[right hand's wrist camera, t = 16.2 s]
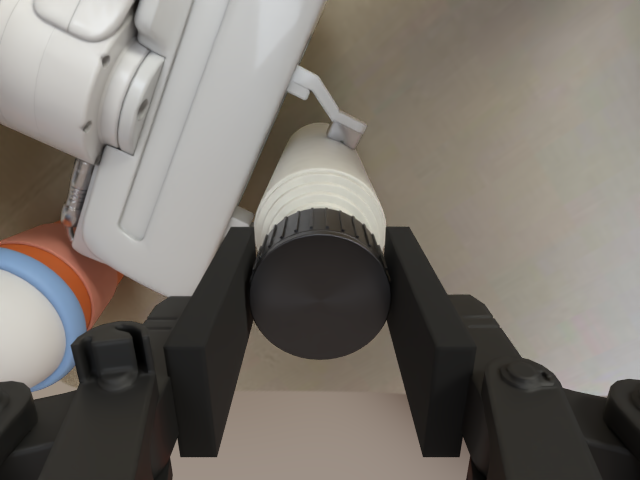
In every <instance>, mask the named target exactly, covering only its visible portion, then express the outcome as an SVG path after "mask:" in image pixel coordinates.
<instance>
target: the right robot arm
mask: <svg viewBox="0 0 640 480" xmlns="http://www.w3.org/2000/svg"><path fill="white" fill-rule="evenodd" d="M384 259H385V262H386V265H387V268H388V270H387V271H388V274H389V277H390V280H391V283H390V285H391V293H392V297H391V307H390V311H389V314H388V318H387V323H388V327H389V331H390V334H391V338H392V342H393V346H394V349H395V353H396V357H397V361H398V365H399V368H400V372H401V376H402V380H403V383H404V387H405V391H406V395H407V398H408V402H409V406H410V410H411V413H412V417H413V421H414V425H415V429H416V432H417V436H418V440H419V444H420V447H421V451H422V455H423V457H460V451H461V444H462V438H464V440H465V443H466V445H467V448H468V451H469V453H470V461H469V467H468V473H467V478H466V480H640V380H634V379H625V380H620V381H616V382H615V383H614V384H613V385H612V386H611V387H610V390H609V394H608V397H607V398H604V397H600V396H595V395H590V394H585V393H581V392H576V391H572V390H568V389H565V388H562V385H561V383H560V382H559V380H558V379H557V378H556V376H555V375H554V374H553V373H552V372H551V371H549V370H548V369H547V368H545V367H544V366H542V365H540V364H538V363H536V362H533V361H531V360H529V359H524V358H522V357H521V356H520V354H519V353H518V352H517V350H516V349H515V347H514V346H513V344H512V343H511V341H510V340H509V339H508V337H507V336H506V334H505V333H504V331H503V330H502V329H501V328H500V327H499V324H498V323H497V321H496V320H495V319H494V318H493V316H492V314H491V313H490V311H489V310H488V309H487V307H486V306H485V304H483V303H482V302H480V301H479V300H477V299H476V298H474V297H473V296H471V295H447V293H446V291H445V289H444V288H443V286H442V284H441V282H440V281H439V279H438V277H437V275H436V274H435V272H434V270H433V268H432V266H431V265H430V263H429V261H428V259H427V258H426V256H425V254H424V252H423V251H422V249H421V247H420V245H419V243H418V242H417V240H416V238H415V236H414V235H413V233H412V231H411V229H410V228H409V227H386V232H385V249H384ZM255 260H256V249H255V232H254V227H231V228H230V229H229V231H228V233H227V235H226V236H225V238H224V240H223V242H222V243H221V245H220V247H219V249H218V251H217V252H216V254H215V256H214V258H213V259H212V261H211V263H210V265H209V266H208V268H207V270H206V272H205V274H204V275H203V277H202V279H201V281H200V282H199V284H198V286H197V288H196V290H195V291H194V293H193V295H192V296H170V297H168V298H167V299H165V300H164V301H162V302H161V303H159V304H158V305H156V306H155V308H154V309H153V310H152V312H151V313H150V315H149V316H148V319H147V320H145V322H144V323H143V324H140V323H136V322H132V321H118V322H113V323H108V324H103V325H100V326H98V327H95V328H93V329H90V330H88V331H86V332H85V333H83V334H82V335H80V336H79V337H77V338H76V340H75V341H74V342H73V343H72V344H71V345H70V346H71V350H72V354H73V358H74V362H75V366H76V370H77V374H78V378H79V382H80V384H79V386H78V389H77V390H75V391H71V392H68V393H64V394H59V395H54V396H49V397H45V398H40V399H35V400H33V397H32V394H31V390H30V388H29V387H28V386H27V385H25V384H24V383H21V382H16V381H6V382H0V480H172V476H173V474H172V467H171V461H170V455H171V453H172V450H173V448H174V445H175V442H176V440H177V438H178V445H179V451H180V457H217V455H218V451H219V447H220V444H221V440H222V436H223V432H224V429H225V425H226V421H227V417H228V413H229V410H230V406H231V402H232V398H233V395H234V391H235V387H236V383H237V380H238V376H239V372H240V368H241V365H242V361H243V357H244V353H245V350H246V346H247V342H248V338H249V334H250V331H251V327H252V323H253V317H252V314H251V310H250V306H249V287H250V285H249V281H250V278H251V275H252V272H253V271H252V269H253V266H254V263H255Z"/></svg>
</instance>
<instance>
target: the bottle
mask: <svg viewBox="0 0 640 480" xmlns="http://www.w3.org/2000/svg"><path fill="white" fill-rule="evenodd" d="M329 125H330V124H328V123H311V124H308V125H306V126H303V127H302V128H300V129H298V130H297V131H296V132H295V133H294V134H293V135H292V136H291V137H290V139H289V140H288V142H287V144H286V146H285V148H284V151H283V153H282V155H281V157H280V159H279V162H278V164H277V166H276V168H275V171H274V173H273V175H272V177H271V180H270V182H269V184H268V186H267V188H266V191H265V193H264V195H263V197H262V200H261V202H260V204H259V206H258V209H257V212H256V215H255V220H254V232H255V244H256V248H257V250H258V251H259V248H260V246H262V244H263V241H264V238H265V236H266V234H267V235H268V234H269V233H270V231H271V230H272V229H273V226H274V225H275V224H276V225H277V224H278V223H279V222H280V221H282V220H283V219H284V217H286V216H287V217H288V216H290V215H292V214H294V213H296V212H297V211H303V210H307V209H311V208H325V207H326V208H328V209H333V210H338V211H339V210H341V211H342V212H344V213H346V214H348V215H350V216H352V215H353V216H355V218H356V219H357V220H358V221H360V222H361V223H362V224H365V225H366V228H367V229H368V230H369V231H370V232H371V234H372V233H373V234H374V236H375V239H376V242H377V245H380V247H381V250H382V251H383V248H384V245H385V232H386V219H385V215H384V211H383V209H382V206H381V204H380V201H379V199H378V197H377V195H376V193H375V190H374V188H373V186H372V184H371V181H370V179H369V177H368V175H367V172H366V170H365V168H364V166H363V164H362V161H361V159H360V157H359V155H358V152H357V150H356V149H355V150H354V149H351V148H349V147H347V146H346V145H344V143H343V141H340V142H338V141H335V140H333V139H331V138H329V137H327V136H326V131H327V129H328V127H329Z"/></svg>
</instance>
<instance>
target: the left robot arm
mask: <svg viewBox="0 0 640 480" xmlns="http://www.w3.org/2000/svg"><path fill="white" fill-rule="evenodd" d="M326 3H327V0H0V124H2V125H4V126H6V127H8V128H11V129H13V130H15V131H18V132H20V133H22V134H24V135H26V136H29V137H31V138H33V139H35V140H38V141H40V142H42V143H44V144H47V145H49V146H51V147H54V148H56V149H58V150H60V151H63V152H65V153H67V154H69V155H72V156H74V157H76V159H75V163H74V167H73V171H72V174H71V179H70V184H69V192H68V196H67V200H66V202H64V204H63V207H62V210H61V216H60V221H61V224H62V225H64V226H65V230H66V234H67V237H68V240H69V241H70V243H71V244H72V247H73V249H74V250H75V251H77V252H78V253H80V254H82V255H84V256H86V257H89V258H91V259H94V260H96V261H98V262H101V263H104V264H107V265H108V266H110V267H112V268H113V269H115V270H116V271H118V272H120V273H121V274H123V275H125V276H127V277H129V278H130V279H132V280H134V281H136V282H138V283H140V284H142V285H143V286H145V287H147V288H149V289H151V290H153V291H155V292H157V293H160V294H162V295H164V296H166V297H170V296H192V295H193V293H194V291H195V290H196V288H197V286H198V284H199V282H200V281H201V279H202V277H203V275H204V274H205V272H206V270H207V268H208V266H209V265H210V263H211V261H212V259H213V258H214V256H215V254H216V252H217V251H218V249H219V247H220V245H221V243H222V242H223V240H224V238H225V236H226V235H227V233H228V231H229V229H230V228H231V227H254V222H252V220H253V218H254V213H252V212H250V211H248V210H246V209H244V208H241V207H239V206H238V205H239V203H240V201H241V198H242V196H243V194H244V191H245V189H246V187H247V185H248V182H249V180H250V178H251V175H252V173H253V171H254V168H255V166H256V164H257V162H258V159H259V157H260V155H261V152H262V150H263V148H264V145H265V143H266V141H267V139H268V136H269V134H270V132H271V129H272V127H273V125H274V122H275V120H276V118H277V116H278V113H279V111H280V109H281V106H282V104H283V102H284V99H285V97H286V95H287V93H290V94H292V95H294V96H296V97H298V98H301V99H303V100H306V99H307V98H308V96H309V94H310V92H311V91H312V92H313V94H314V95H315V97H316V98H317V100H318V101H319V103H320V104H321V106H322V107H323V109H324V110H325V112H326V113H327V115H328V116H329V118H330V119H331V123H330V125H329V127H328V129H327V131H326V136H327V137H329V138H331V139H333V140H335V141H338V142H340V141H343V143H344V145H346V146H347V147H349V148H351V149H354V150H355V149H356V147H357V145H358V143H359V141H360V139H361V138H362V136H363V134H364V132H365V130H366V128H367V124H366V123H364V122H363V121H361V120H359V119H357V118H355V117H353V116H351V115H349V114H347V113H345V112H343V111H342V110H340V109H339V107H338V105H337V104H336V102H335V101H334V99H333V98H332V96H331V94H330V93H329V91H328V90H327V88H326V87H325V85H324V84H323V82H322V80H321V79H320V77H319V76H318V75H317V74H315V73H313V72H311V71H309V70H307V69H305V68H303V67H301V66H299V65H300V63H301V60H302V58H303V56H304V53H305V51H306V49H307V46H308V44H309V42H310V40H311V37H312V35H313V33H314V30H315V28H316V26H317V23H318V21H319V19H320V17H321V14H322V12H323V10H324V7H325V5H326ZM74 227H76V231H75V234H74V231H73V228H74Z"/></svg>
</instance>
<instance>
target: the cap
mask: <svg viewBox="0 0 640 480" xmlns="http://www.w3.org/2000/svg"><path fill="white" fill-rule="evenodd" d="M387 270H388V268H387V265H386V262H385V259H384V256H383V253H382V250H381V247H380V245H377V242H376V239H375V236H374V234H373V233H372V234H371V232H370V231H369V230H368V229H367V228H366V225H365V224H362V223H361V222H360V221H358V220H357V219H356V218H355V216H353V215H352V216H350V215H348V214H346V213H344V212H342V211H341V210H339V211H338V210H333V209H328V208H326V207H325V208H311V209H307V210H303V211H297V212H296V213H294V214H292V215H290V216H288V217H287V216H286V217H284V219H283V220H282V221H280V222H279V223H278V224H277V225H276V224H275V225H274V226H273V229H272V230H271V231H270V233H269V234H268V235H267V234H266V236H265V238H264V241H263V244H262V246H260V248H259V251H258V254H257V257H256V260H255V263H254V266H253V269H252V271H253V272H252V275H251V278H250V281H249V285H250V287H249V306H250V310H251V314H252V317H253V319H254V321H255V323H256V325H257V327H258V328H259V330H260V331H261V332H262V334H263V335H264V336H265V337H266V338H267V339H268V340H269V341H270V342H271V343H272V344H274V345H275V346H277V347H278V348H280V349H281V350H283V351H285V352H287V353H290V354H292V355H295V356H298V357H301V358H307V359H316V360H324V359H333V358H338V357H342V356H346V355H348V354H351V353H353V352H355V351H357V350H359V349H361V348H362V347H364V346H365V345H367V344H368V343H369V342H370V341H371V340H372V339H374V337H375V336H376V335H377V334H378V333H379V332H380V330H381V329H382V327H383V326H384V324H385V322H386V320H387V318H388V314H389V311H390V307H391V297H392V293H391V285H390V283H391V280H390V277H389V274H388V271H387Z"/></svg>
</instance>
